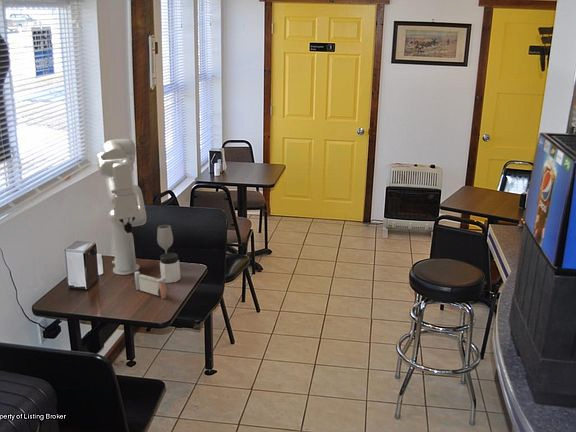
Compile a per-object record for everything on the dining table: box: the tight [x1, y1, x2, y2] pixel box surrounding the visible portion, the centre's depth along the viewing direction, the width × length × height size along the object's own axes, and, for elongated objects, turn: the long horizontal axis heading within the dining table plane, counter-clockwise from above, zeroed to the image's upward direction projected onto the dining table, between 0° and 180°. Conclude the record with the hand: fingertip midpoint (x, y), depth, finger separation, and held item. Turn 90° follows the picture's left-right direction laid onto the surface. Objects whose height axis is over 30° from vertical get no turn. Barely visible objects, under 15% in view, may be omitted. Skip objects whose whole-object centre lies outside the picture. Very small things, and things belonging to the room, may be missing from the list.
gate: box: [134, 270, 161, 297], centre depth 284 cm, size 16×3×8 cm, turn 57°
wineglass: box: [156, 224, 174, 253], centre depth 311 cm, size 8×8×21 cm
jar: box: [159, 252, 181, 284], centre depth 297 cm, size 9×8×12 cm
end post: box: [157, 277, 168, 300], centre depth 278 cm, size 3×3×9 cm
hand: (128, 232), depth 276 cm, fingers closed
